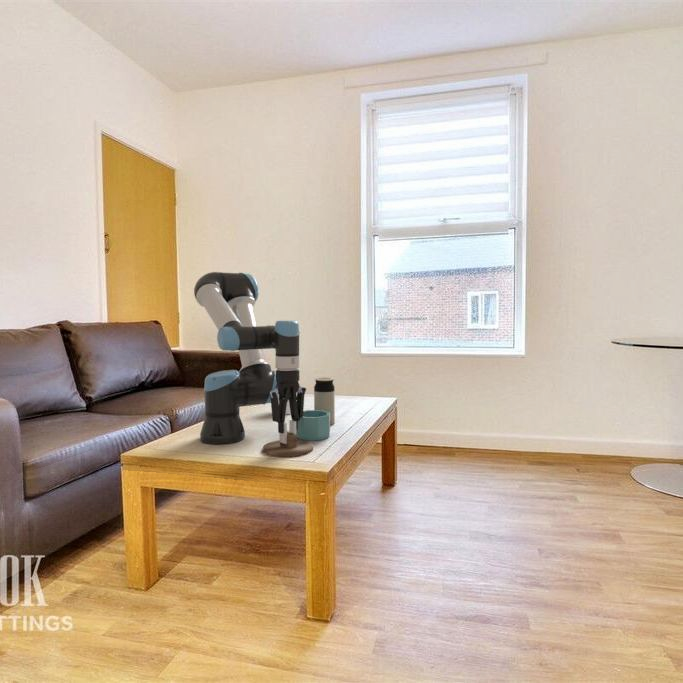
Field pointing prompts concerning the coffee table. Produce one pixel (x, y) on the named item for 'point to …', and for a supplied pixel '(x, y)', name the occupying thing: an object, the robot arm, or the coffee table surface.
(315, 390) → the travel mug
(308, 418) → the bowl
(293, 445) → the lid
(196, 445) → the coffee table surface
